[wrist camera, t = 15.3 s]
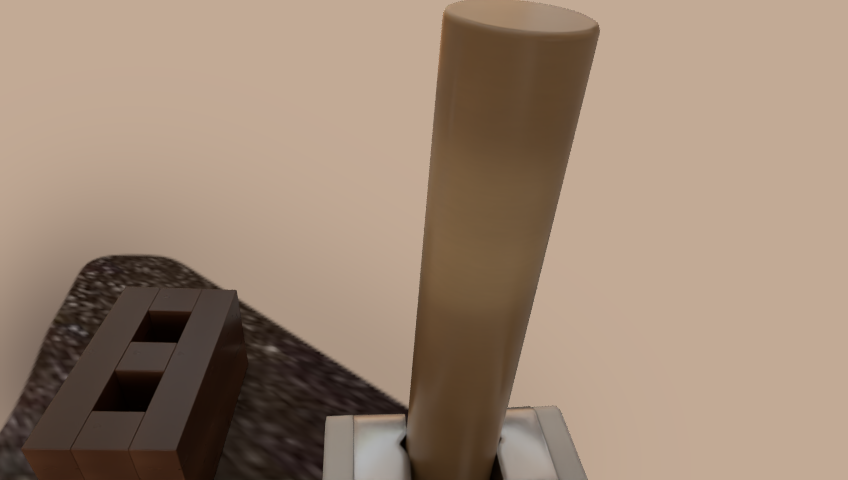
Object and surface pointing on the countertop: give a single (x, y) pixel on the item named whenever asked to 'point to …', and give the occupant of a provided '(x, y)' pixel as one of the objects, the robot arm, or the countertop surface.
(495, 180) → the stirring stick
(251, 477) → the countertop surface
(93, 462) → the utensil block
